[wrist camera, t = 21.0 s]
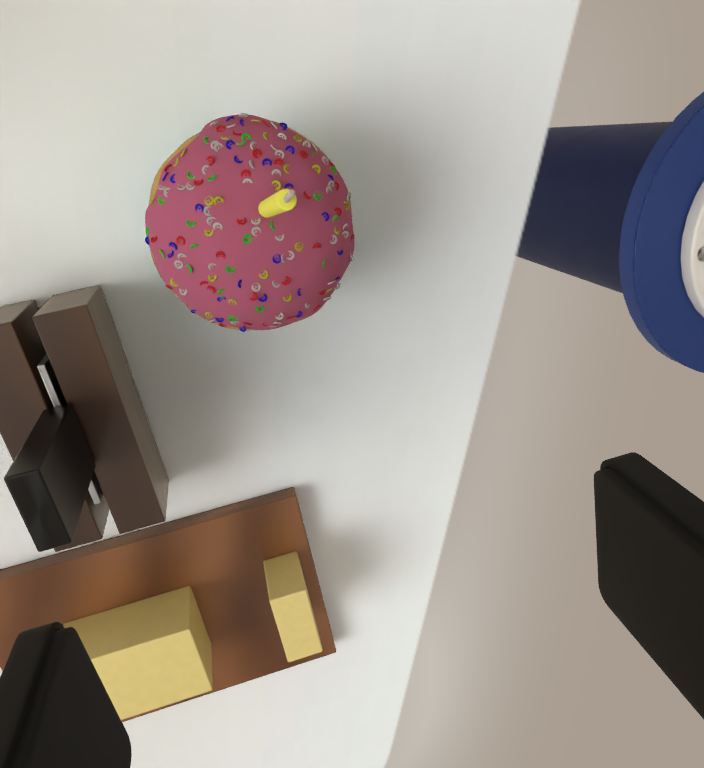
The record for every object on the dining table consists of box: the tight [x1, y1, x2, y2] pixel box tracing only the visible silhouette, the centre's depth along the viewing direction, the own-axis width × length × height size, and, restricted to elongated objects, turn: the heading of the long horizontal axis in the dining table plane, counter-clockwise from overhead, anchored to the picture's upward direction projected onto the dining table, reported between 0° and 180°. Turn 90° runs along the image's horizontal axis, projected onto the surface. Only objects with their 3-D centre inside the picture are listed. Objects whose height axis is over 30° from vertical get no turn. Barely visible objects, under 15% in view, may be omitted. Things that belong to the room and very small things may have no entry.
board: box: [0, 487, 336, 722], centre depth 36 cm, size 18×12×1 cm, turn 100°
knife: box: [4, 353, 103, 552], centre depth 26 cm, size 1×7×10 cm, turn 10°
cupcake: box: [145, 113, 354, 332], centre depth 24 cm, size 9×8×12 cm
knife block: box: [0, 285, 169, 552], centre depth 29 cm, size 5×11×4 cm, turn 10°
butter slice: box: [263, 551, 323, 662], centre depth 35 cm, size 2×4×4 cm, turn 11°
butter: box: [63, 586, 213, 720], centre depth 34 cm, size 7×4×4 cm, turn 100°
